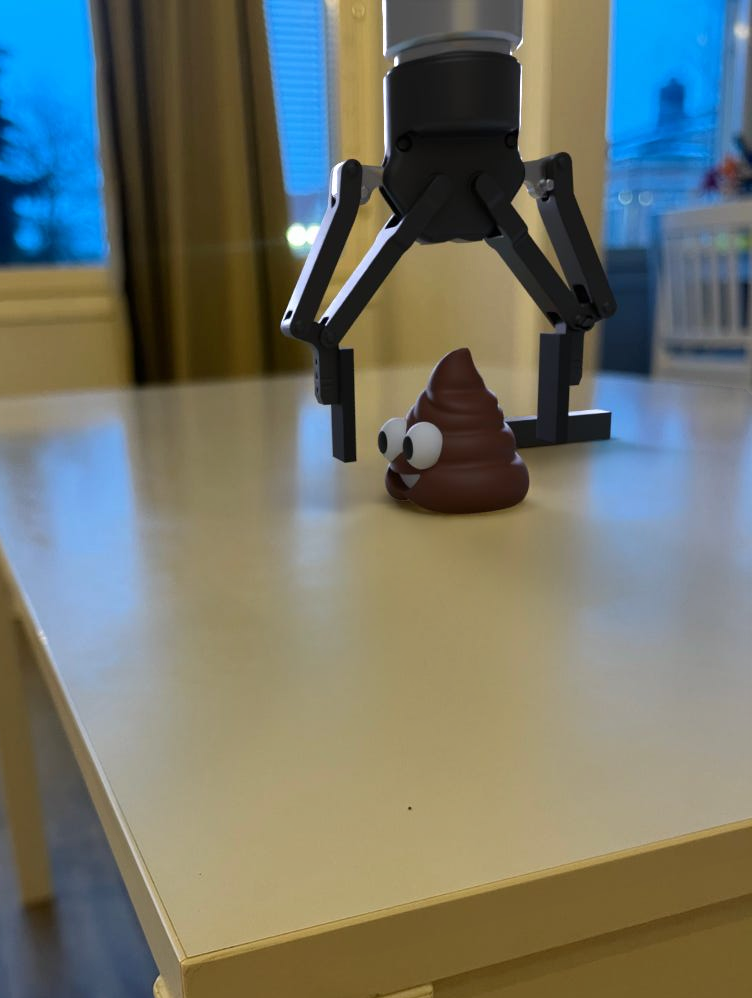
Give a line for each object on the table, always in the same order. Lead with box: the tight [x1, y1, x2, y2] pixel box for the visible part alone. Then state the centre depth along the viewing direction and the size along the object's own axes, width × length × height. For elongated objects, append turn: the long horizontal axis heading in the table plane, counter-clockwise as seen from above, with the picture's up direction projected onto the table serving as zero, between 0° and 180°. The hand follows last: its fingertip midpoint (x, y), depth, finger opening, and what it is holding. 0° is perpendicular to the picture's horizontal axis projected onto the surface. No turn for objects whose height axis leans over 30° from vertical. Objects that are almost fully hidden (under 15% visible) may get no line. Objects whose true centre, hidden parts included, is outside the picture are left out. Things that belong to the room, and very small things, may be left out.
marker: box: [504, 409, 613, 449], centre depth 81 cm, size 13×2×2 cm, turn 102°
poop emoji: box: [377, 347, 530, 515], centre depth 61 cm, size 10×8×9 cm
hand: (450, 450), depth 61 cm, fingers open, 13 cm apart
